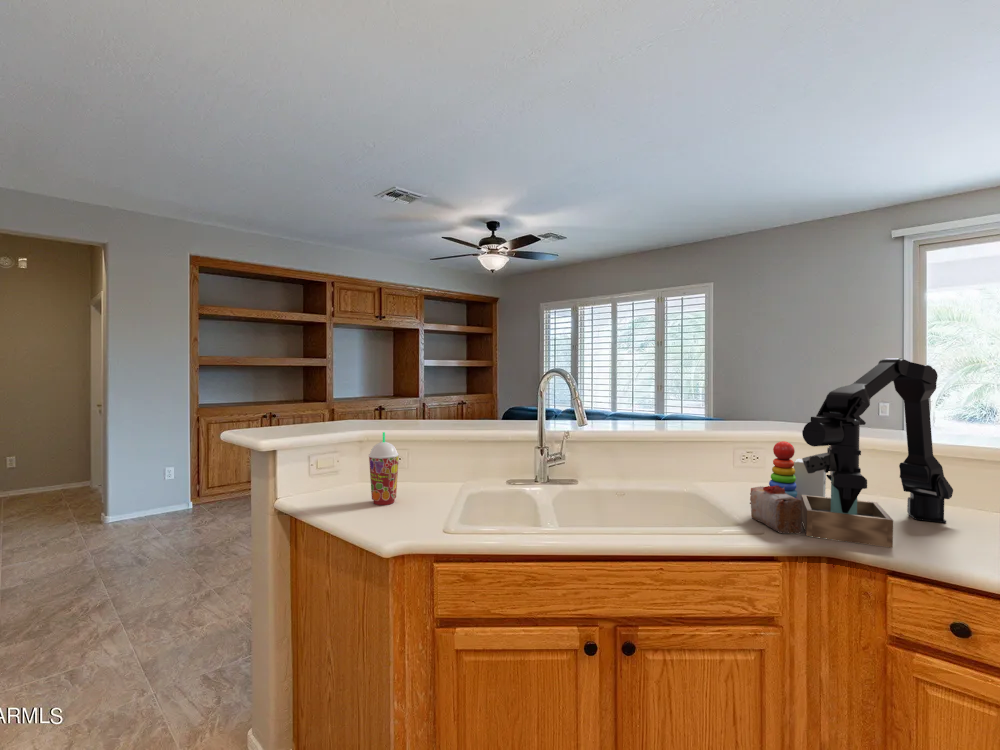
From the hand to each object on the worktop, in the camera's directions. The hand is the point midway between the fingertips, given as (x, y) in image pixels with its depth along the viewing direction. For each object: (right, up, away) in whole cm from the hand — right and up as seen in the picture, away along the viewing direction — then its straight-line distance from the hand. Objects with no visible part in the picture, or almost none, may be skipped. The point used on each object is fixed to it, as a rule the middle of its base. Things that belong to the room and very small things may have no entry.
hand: (843, 509), depth 122 cm
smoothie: (-114, -4, +24) cm, 117 cm away
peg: (0, -3, 0) cm, 3 cm away
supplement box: (+5, -5, +22) cm, 23 cm away
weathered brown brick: (-13, -5, +5) cm, 15 cm away
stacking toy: (-5, -5, +18) cm, 19 cm away
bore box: (0, -5, 0) cm, 5 cm away
